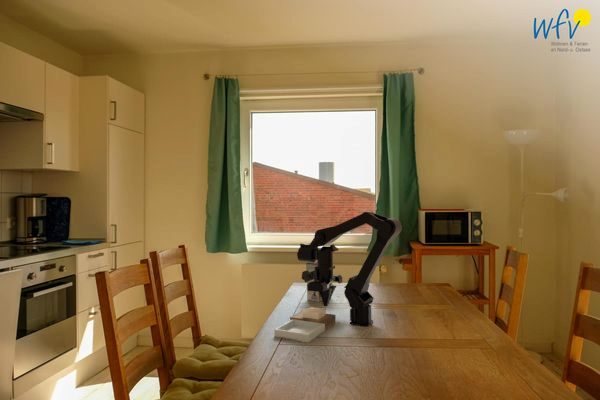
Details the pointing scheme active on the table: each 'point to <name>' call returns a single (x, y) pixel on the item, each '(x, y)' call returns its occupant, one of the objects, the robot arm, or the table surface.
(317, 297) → the coffee box
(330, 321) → the brown rectangular slab
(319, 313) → the block
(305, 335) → the box
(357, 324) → the robot arm
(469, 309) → the table surface
